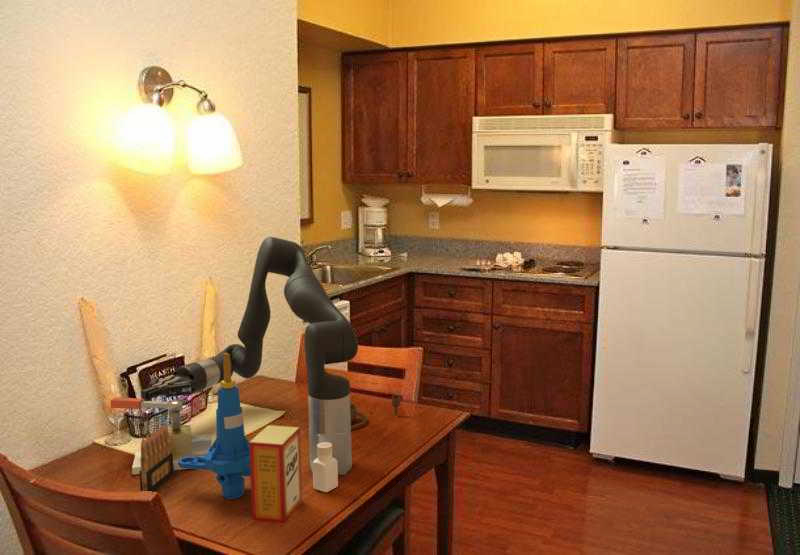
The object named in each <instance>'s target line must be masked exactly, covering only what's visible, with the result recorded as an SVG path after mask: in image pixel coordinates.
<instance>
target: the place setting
mask: <svg viewBox="0 0 800 555" xmlns="http://www.w3.org/2000/svg"><path fill="white" fill-rule="evenodd" d="M390 400H391V406H392V407H393V408H394V411H393V413H394V416H398V417H399V410H398V409H399V407H400V406H401V400H402V398H401V396H400V395H392V396H391V399H390ZM350 413H351V423H352V422H354V421H355V420H356V419H357V417H359V418H361V419H362V420H363V421H362V420H361V419H360V420H361V422H360V423H359V422H358V423H356V424H354V425H352V424H351V431H353V430H357V429H360V428H362V427H364V426H365V425H366V422H367V420H368V419H367V416H366V414H364V413H361V412H359V411H358V406H357V405H355V403H352V402H350ZM370 413H371V414H373V411H370ZM371 414H370V415H371ZM394 416H393V417H394ZM359 418H358V419H359Z"/></svg>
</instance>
